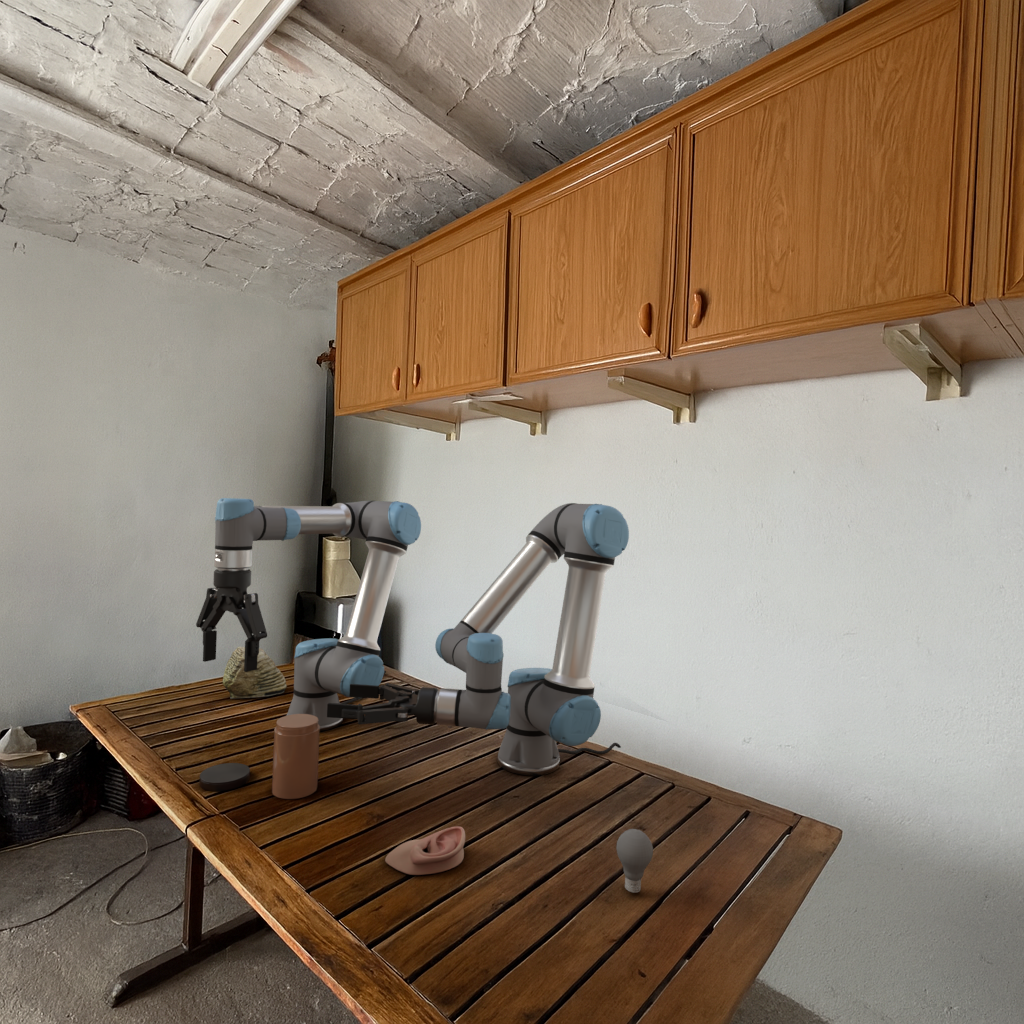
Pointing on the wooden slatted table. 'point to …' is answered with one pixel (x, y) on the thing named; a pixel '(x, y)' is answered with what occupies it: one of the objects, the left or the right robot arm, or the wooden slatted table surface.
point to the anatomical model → (429, 853)
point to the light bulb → (634, 857)
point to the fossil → (252, 676)
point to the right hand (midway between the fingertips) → (339, 699)
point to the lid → (224, 777)
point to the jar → (295, 756)
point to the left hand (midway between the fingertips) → (229, 665)
